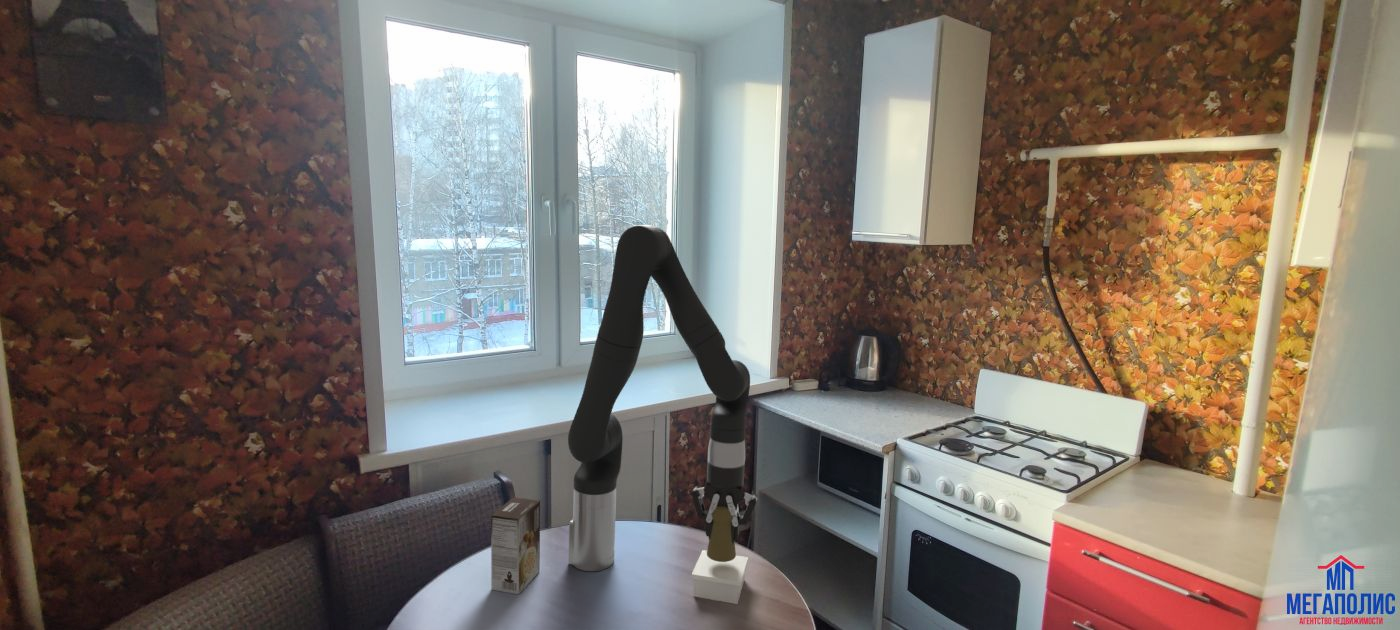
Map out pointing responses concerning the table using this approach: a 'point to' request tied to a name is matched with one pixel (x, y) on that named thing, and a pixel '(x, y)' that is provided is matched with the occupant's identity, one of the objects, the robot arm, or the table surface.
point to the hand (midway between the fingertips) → (722, 539)
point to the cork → (721, 536)
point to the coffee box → (515, 545)
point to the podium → (719, 578)
